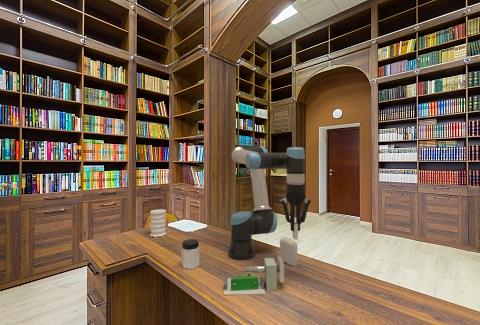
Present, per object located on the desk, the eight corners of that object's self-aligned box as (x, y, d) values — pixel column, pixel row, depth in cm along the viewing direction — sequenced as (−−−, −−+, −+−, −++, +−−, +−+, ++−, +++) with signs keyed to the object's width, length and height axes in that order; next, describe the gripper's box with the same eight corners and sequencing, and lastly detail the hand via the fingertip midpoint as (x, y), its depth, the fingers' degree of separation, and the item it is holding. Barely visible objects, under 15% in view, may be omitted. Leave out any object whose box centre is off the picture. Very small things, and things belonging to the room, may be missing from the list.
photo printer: (278, 259, 116) (278, 236, 117) (285, 257, 119) (284, 234, 119) (292, 267, 107) (292, 241, 108) (298, 265, 110) (298, 240, 110)
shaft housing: (264, 281, 94) (264, 258, 94) (273, 281, 94) (273, 258, 94) (266, 290, 87) (266, 265, 87) (276, 290, 87) (276, 265, 87)
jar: (200, 262, 114) (200, 238, 114) (197, 269, 106) (197, 244, 106) (183, 262, 114) (183, 239, 114) (179, 269, 106) (179, 244, 106)
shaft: (243, 275, 94) (243, 256, 94) (280, 274, 94) (280, 256, 94) (244, 283, 88) (244, 262, 88) (283, 282, 88) (283, 262, 88)
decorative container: (149, 239, 150) (149, 213, 151) (149, 234, 161) (149, 209, 162) (167, 237, 155) (167, 211, 155) (166, 232, 165) (166, 208, 166)
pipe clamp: (257, 284, 91) (257, 273, 91) (258, 289, 88) (258, 278, 88) (230, 285, 90) (230, 274, 90) (230, 290, 87) (230, 279, 87)
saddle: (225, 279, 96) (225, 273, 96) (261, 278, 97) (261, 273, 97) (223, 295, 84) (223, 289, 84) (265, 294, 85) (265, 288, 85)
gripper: (307, 182, 98) (307, 235, 98) (278, 182, 97) (278, 235, 97) (313, 184, 90) (313, 241, 90) (282, 184, 90) (282, 241, 90)
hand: (295, 238), depth 94 cm, fingers closed
